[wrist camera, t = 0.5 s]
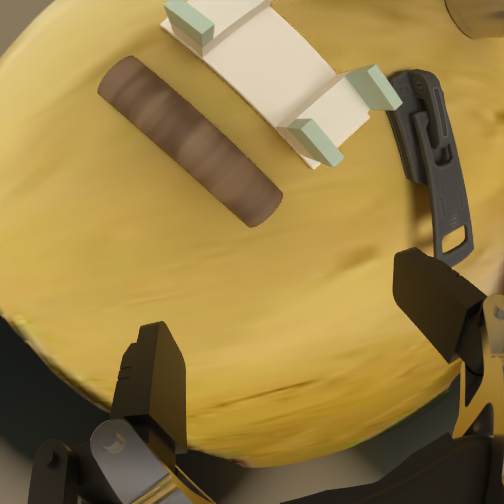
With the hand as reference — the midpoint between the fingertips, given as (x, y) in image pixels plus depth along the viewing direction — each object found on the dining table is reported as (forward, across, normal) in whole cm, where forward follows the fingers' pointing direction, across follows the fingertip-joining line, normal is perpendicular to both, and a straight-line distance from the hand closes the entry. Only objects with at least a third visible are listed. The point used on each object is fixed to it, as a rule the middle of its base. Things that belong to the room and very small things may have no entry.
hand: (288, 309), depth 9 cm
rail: (+22, +3, -5) cm, 23 cm away
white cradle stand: (+22, -7, -11) cm, 25 cm away
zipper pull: (+22, -25, +3) cm, 33 cm away
